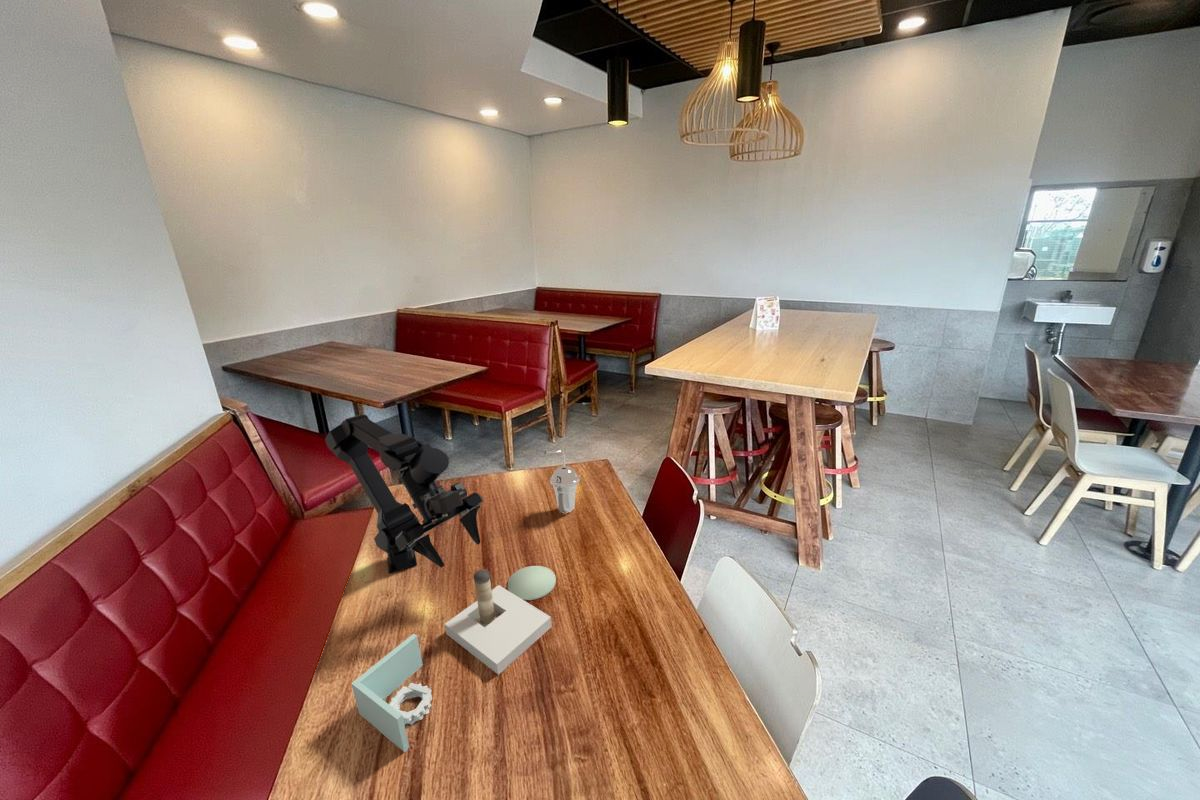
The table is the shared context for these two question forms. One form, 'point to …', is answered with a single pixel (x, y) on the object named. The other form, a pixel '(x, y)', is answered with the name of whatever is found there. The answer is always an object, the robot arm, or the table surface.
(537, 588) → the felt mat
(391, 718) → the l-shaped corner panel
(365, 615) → the table surface
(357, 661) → the table surface
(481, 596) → the key peg
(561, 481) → the cup with straw
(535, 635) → the socket plate
